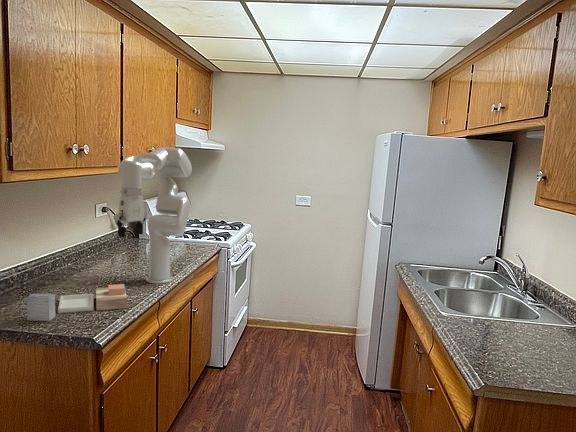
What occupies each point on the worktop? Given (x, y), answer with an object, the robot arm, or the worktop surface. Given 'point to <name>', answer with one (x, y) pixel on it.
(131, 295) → the worktop surface
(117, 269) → the worktop surface
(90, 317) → the worktop surface
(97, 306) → the beige rectangular block
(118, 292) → the tile
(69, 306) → the box
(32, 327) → the worktop surface
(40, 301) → the medicine box
